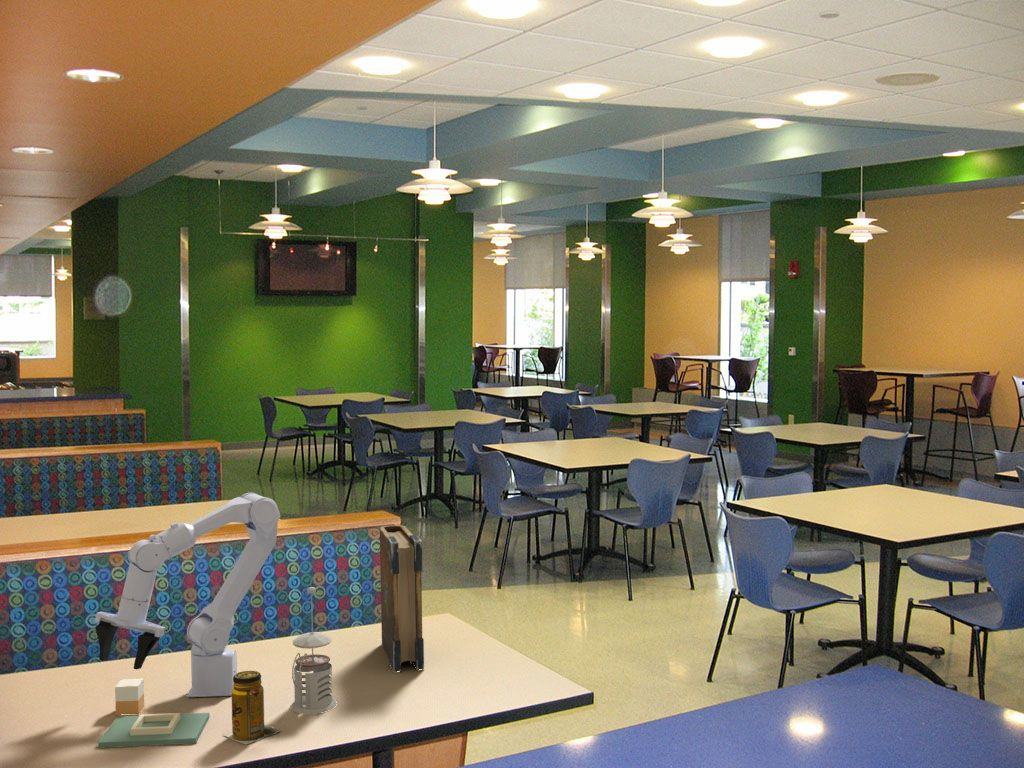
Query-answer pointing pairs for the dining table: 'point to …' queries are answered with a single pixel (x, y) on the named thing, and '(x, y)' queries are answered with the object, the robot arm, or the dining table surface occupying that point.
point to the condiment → (248, 709)
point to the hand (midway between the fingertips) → (120, 664)
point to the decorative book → (401, 596)
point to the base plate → (154, 730)
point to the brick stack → (129, 696)
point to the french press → (312, 674)
